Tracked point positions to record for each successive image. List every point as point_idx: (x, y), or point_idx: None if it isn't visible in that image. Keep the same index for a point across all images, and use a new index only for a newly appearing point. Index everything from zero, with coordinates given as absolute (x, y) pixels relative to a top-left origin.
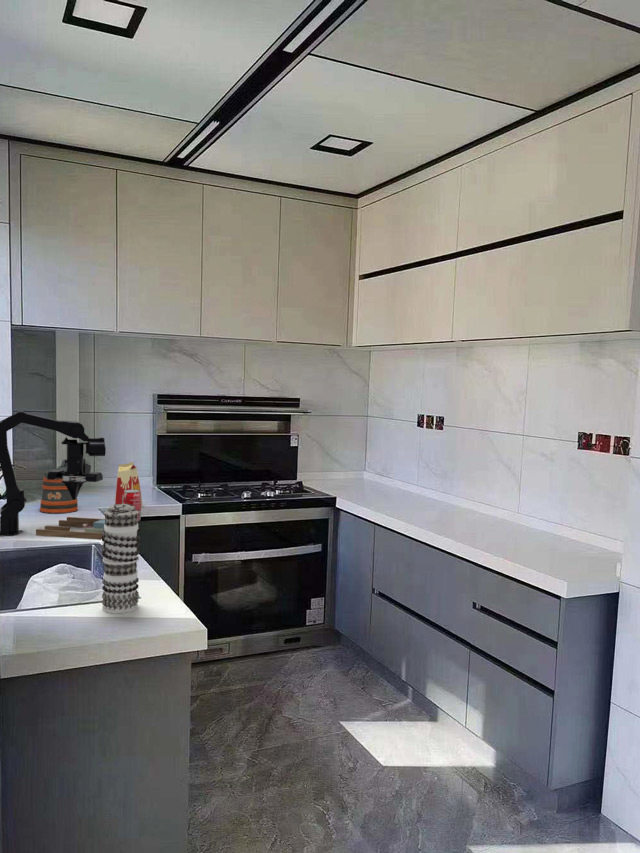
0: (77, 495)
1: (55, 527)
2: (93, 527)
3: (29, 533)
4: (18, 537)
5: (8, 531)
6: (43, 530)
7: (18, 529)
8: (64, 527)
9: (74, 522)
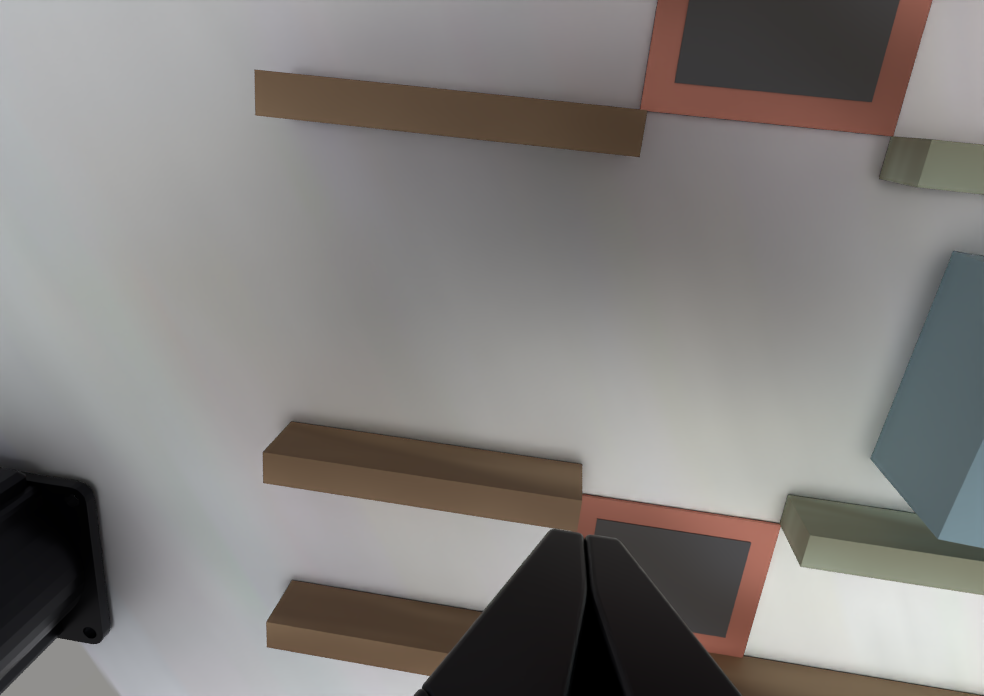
0: (668, 629)
1: (403, 500)
2: (904, 499)
3: (188, 527)
4: (189, 672)
5: (41, 652)
6: (354, 660)
7: (34, 498)
8: (519, 522)
9: (513, 142)
